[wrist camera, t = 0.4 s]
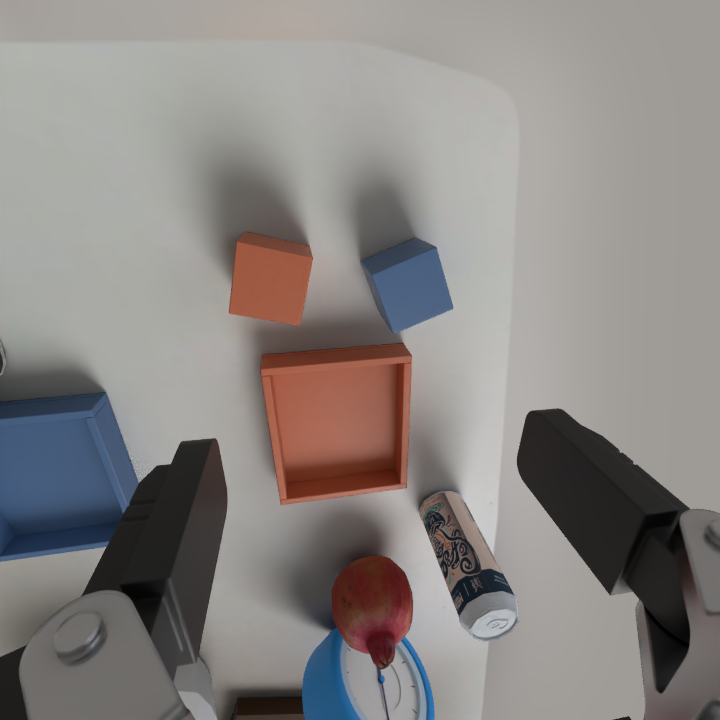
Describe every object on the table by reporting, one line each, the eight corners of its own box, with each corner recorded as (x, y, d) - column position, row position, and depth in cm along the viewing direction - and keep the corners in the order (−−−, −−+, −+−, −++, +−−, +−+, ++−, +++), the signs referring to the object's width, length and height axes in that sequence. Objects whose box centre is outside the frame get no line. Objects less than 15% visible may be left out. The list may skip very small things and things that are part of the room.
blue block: (359, 261, 28) (370, 274, 24) (416, 236, 28) (436, 246, 24) (380, 314, 30) (393, 334, 26) (432, 291, 30) (454, 308, 26)
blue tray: (-62, 407, 27) (-93, 427, 25) (106, 392, 29) (90, 410, 27) (14, 537, 33) (-6, 562, 31) (151, 518, 35) (141, 542, 32)
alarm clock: (415, 622, 48) (462, 795, 34) (385, 650, 49) (420, 825, 36) (327, 596, 43) (342, 785, 30) (298, 628, 45) (300, 821, 31)
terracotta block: (245, 231, 26) (236, 240, 22) (310, 245, 27) (313, 257, 23) (237, 294, 27) (228, 313, 23) (299, 305, 28) (300, 326, 24)
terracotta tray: (262, 354, 30) (259, 368, 27) (403, 342, 31) (412, 355, 29) (281, 484, 35) (280, 505, 33) (399, 469, 37) (406, 488, 35)
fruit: (323, 544, 39) (332, 651, 31) (399, 529, 40) (429, 629, 31) (333, 593, 43) (343, 702, 34) (402, 578, 44) (431, 680, 35)
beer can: (428, 484, 38) (481, 603, 27) (469, 490, 39) (535, 606, 29) (411, 519, 40) (454, 644, 29) (451, 524, 41) (506, 645, 30)
